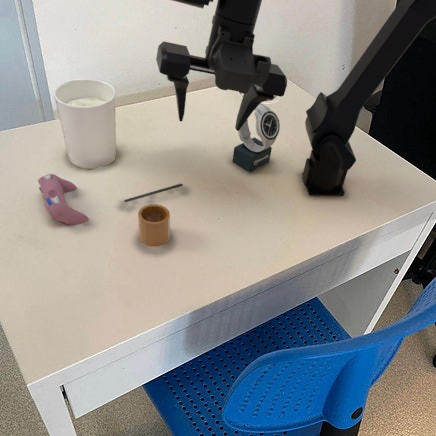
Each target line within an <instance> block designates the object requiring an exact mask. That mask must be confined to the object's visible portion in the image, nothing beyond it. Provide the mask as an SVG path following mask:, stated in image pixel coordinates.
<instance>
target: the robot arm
mask: <svg viewBox="0 0 436 436" xmlns="http://www.w3.org/2000/svg"><path fill="white" fill-rule="evenodd" d="M171 1H173V2H176V3H180V4H183V5H188V6H191V7H195V8H200V9H204V7H205V6H207V7H209V5H210V3H213V2H214V0H171ZM262 2H263V0H217V2H216V6H215V11H214V15H212V20H211V30H210V34H209V38H208V43H207V45H206V48H205V51H204V52H205V56H203V57H202V56H198V55H193V54H190V51H189V49H188V46H187V45H183V44H178V43H174V42H168V41H162V42H161V43H159V45H158V46H157V52H156V58H155V60H156V64H157V68H158V71H159V73H160V74H162V75H163V76H166V79H167V80H168V81H169V82H171V83H173V85H174V91H175V99H176V107H177V114H178V121H179V122H183V120H184V117H185V109H186V100H187V91H188V87H189V84H190V81H189V78H188V76H187V75H189V74H190V71H195V72H200V73H205V74H209V75H214V83H215V86H216V88H218V89H219V90H222V91H232V92H233V91H234V92H238V93H239V94H243V95H242V99H241V103H240V106H239V109H238V112H237V115H238V116H237V115H236V121H235V125H234V129H235V130H236V131H237V132H238V131H239V130H240V128H241V127H242V126H243V124H244V123H245V122H246V120H248V119H249V118H250V116H251V115H252V114H253V112H254V111H255V108H256V107H257V106H258V105H259V104H260V103H262V104H263V102H265V101H268V100H269V101H272V100H274V99H275V97H279V98H280V97H281V98H282V97H284V95H285V92H286V90H287V86H288V78H287V76H286V74H285V73H284V71H283V70H282V69H281V68H280V66H279V65H278V64H275V63H272V60H271V59H272V58H271V57H270V56H266V55H261V54H255V53H254V51H253V46H254V43H255V37H256V36H255V35H256V34H254V31H255V27H256V25H257V20H258V17H259V13H260V9H261V6H262ZM435 18H436V0H400V1H399V2H398V3H397V5H396V7H395V8H394V9H393V11H392V12H391V14H390V15H389V16H388V18H387V20H386V21H385V22H384V24H383V25H382V27H381V29H379V31H378V32H377V34H376V35H375V36H374V38H373V39H372V41H371V42H369V43H370V44H369V45H368V46H367V47H366V49H365V50H364V52H363V53H362V55H361V56H360V58H359V59H358V60H357V62H356V63H355V64H354V66H353V68H352V69H351V70H350V71H349V73H348V75H346V77H345V79H344V80H343V82H342V83H341V84H340V86H339V87H338V88H337V89H336V90H335V91H333V92H332V93H330V94H328V95H326V94H324V93H323V92H322V91H321V92H319V93H318V94H317V96H316V98H315V101H314V103H313V104H312V105H311V106H310V107H309V108H308V109H307V110H305V113H306V118H305V121H304V126H305V131H306V134H307V137H308V140H309V144H310V147H311V151H310V154H309V157H307V158H306V159H305V162H304V163H305V164H304V168H303V172H302V173H301V179H302V183H303V185H304V186H305V189H306V191H307V193H308V195H309V196H315V197H316V196H317V197H322V196H324V197H326V196H327V197H343V196H345V193H346V191H345V190H344V187H343V186H344V185H345V181H346V178H347V174H348V172H349V170H351V168H352V167H353V166H354V164H355V163H356V162H357V158H356V155H355V153H354V150H353V148H352V146H351V143H350V139H351V138H352V135H353V134H354V132H355V129H356V126H357V122H358V119H359V116H360V113H361V111H362V109H363V108H364V106H365V105H366V103H367V102H368V101H369V99H370V98H371V97H372V95H373V94H374V93H375V92H376V91H377V89H378V88H379V86H380V85H381V84H382V83H383V81H384V80H385V78H387V76H388V75H389V73H390V72H391V71H392V69H393V68H394V67H395V65H396V64H397V63H398V61H399V60H400V59H401V57H402V56H403V55H404V54H405V53H406V51H407V50H408V48H409V47H410V46H411V45H412V43H413V42H414V41H415V39H416V38H417V37H418V35H419V34H420V33H421V32H422V30H423V29H424V27H425V26H426V25H427V24H428V23H429V22H431V20H433V19H435Z"/></svg>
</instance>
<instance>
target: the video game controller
mask: <svg viewBox="0 0 436 436" xmlns="http://www.w3.org/2000/svg"><path fill="white" fill-rule="evenodd" d="M37 182H38V184H39V187H38V191H39V192H40V193H41V194H42V196H43V197H44V199H45V201H44V206H45V208H46V211H47V212H48V213H49V214H50V216H51V218H53V219H54V220H55V221H56V222H61V223H63V224H66V225H70V226H76V225H81V224H84V223H86V222H89V220H90V218H89V217H88V216H87V214H85V213H83V212H81V211H78V210H76V209H74V208H73V207H70V206H69V205H68V204H67V201H66V198H65V196H64V194H65V193H69V192H73V191H76V190H77V189H78V187H77V185H75V184H74V182H72V181H69V180H66V179H64V178H61V177H60V176H57V174H54V173H49V174H44V175H43V176H41V177H39V178H38V179H37Z"/></svg>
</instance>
